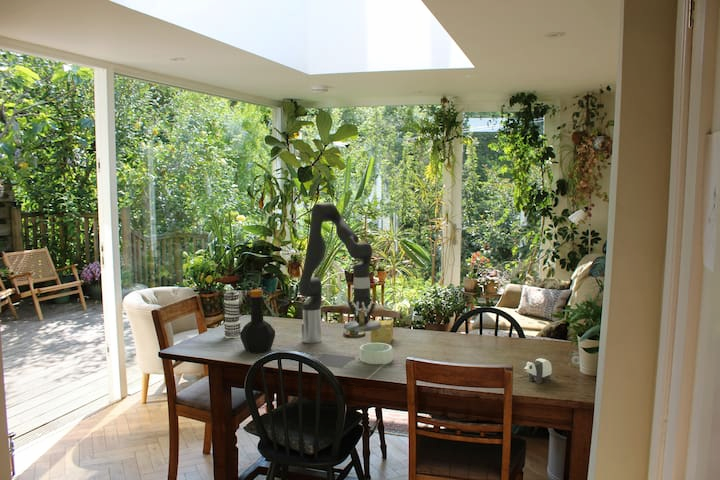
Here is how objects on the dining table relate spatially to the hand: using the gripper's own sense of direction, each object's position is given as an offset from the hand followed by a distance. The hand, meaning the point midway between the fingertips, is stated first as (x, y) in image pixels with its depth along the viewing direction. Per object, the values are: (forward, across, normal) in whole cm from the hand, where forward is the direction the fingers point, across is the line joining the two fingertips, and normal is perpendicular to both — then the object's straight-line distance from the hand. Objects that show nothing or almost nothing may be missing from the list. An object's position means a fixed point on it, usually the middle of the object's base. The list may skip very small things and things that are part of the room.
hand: (362, 323), depth 261 cm
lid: (+2, 0, 0) cm, 2 cm away
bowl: (+18, +5, +4) cm, 19 cm away
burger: (+18, -22, +39) cm, 48 cm away
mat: (+18, -13, -6) cm, 23 cm away
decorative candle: (+17, -83, +13) cm, 85 cm away
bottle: (+17, -56, -2) cm, 59 cm away
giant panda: (+19, +77, +2) cm, 79 cm away
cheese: (+18, -4, +34) cm, 38 cm away
